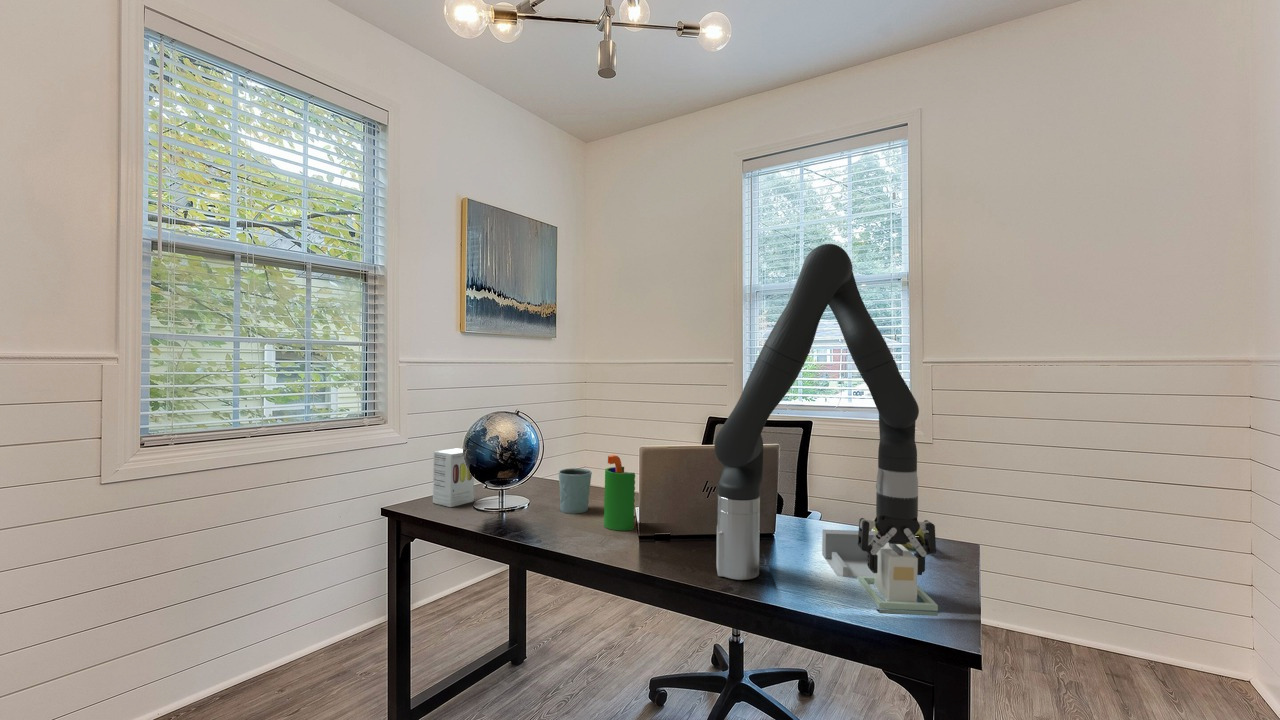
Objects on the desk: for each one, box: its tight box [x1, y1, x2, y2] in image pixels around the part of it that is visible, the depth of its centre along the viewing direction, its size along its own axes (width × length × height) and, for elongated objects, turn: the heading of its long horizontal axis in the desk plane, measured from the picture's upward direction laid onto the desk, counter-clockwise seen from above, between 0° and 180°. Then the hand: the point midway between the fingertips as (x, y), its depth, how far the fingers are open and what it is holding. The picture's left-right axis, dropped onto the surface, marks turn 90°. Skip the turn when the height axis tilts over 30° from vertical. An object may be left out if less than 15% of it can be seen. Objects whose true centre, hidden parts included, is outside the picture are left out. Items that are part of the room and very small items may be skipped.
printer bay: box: [821, 529, 876, 578], centre depth 125 cm, size 12×13×7 cm
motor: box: [603, 454, 636, 532], centre depth 156 cm, size 10×9×20 cm
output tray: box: [857, 576, 939, 617], centre depth 110 cm, size 11×13×2 cm
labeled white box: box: [874, 542, 918, 603], centre depth 110 cm, size 5×8×10 cm, turn 176°
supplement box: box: [432, 447, 475, 508], centre depth 179 cm, size 10×9×17 cm
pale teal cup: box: [558, 467, 593, 515], centre depth 172 cm, size 10×10×12 cm
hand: (895, 572), depth 110 cm, fingers open, 8 cm apart
